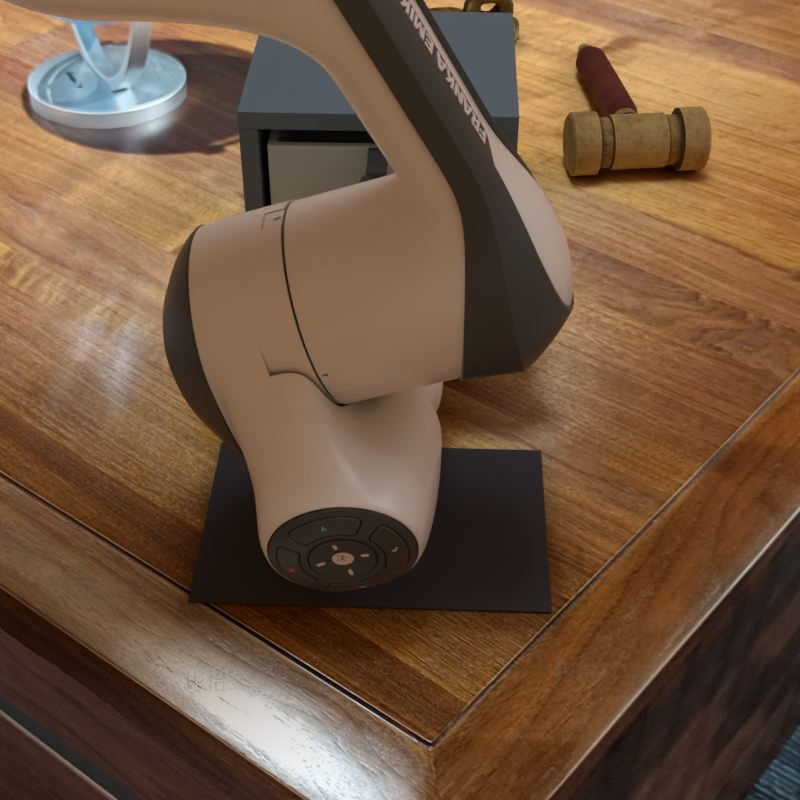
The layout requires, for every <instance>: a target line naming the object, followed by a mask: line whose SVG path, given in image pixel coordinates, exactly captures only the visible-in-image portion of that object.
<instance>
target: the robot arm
mask: <svg viewBox="0 0 800 800" xmlns="http://www.w3.org/2000/svg"><path fill="white" fill-rule="evenodd" d="M2 1H3V2H6V3H9V4H11V5H14V6H17V7H20V8H22V9H24V10H28V11H31V12H35V13H40V14H44V15H48V16H52V17H57V18H62V19H68V20H76V21H87V22H104V23H107V22H109V23H110V22H112V23H113V22H115V23H117V22H119V23H120V22H124V23H125V22H126V23H127V22H132V23H133V22H135V23H137V22H138V23H139V22H140V23H166V24H167V23H168V24H169V23H170V24H182V25H183V24H185V25H195V26H202V27H203V26H204V27H211V28H212V27H213V28H219V29H225V30H231V31H238V32H243V33H248V34H253V35H257V36H258V35H260V36H264V37H268V38H271V39H274V40H277V41H279V42H282V43H285V44H287V45H290V46H292V47H294V48H296V49H297V50H299V51H301V52H303V53H304V54H306V55H307V56H309V57H310V58H312V59H313V60H315V61H316V62H317V63H318V64H319V65H321V66H322V67H323V68H324V69H325V70H326V72H327V73H328V74H329V75H330V76H331V78H332V79H333V80H334V82H335V83H336V85H337V86H338V88H339V89H340V91H341V92H342V94H343V95H344V97H345V98H346V100H347V101H348V103H349V104H350V106H351V107H352V109H353V110H354V112H355V113H356V115H357V116H358V118H359V119H360V121H361V122H362V124H363V125H364V127H365V128H366V130H367V131H368V133H369V135H370V136H371V138H372V139H373V141H374V142H375V144H376V145H377V147H378V148H379V150H380V151H381V153H382V154H383V156H384V157H385V159H386V160H387V162H388V163H389V165H390V166H391V168H392V169H393V171H394V172H395V173H393V174H390V175H387V176H383V177H380V178H376V179H372V180H369V181H365V182H361V183H358V184H354V185H350V186H346V187H343V188H339V189H335V190H332V191H328V192H324V193H320V194H317V195H313V196H309V197H306V198H302V199H298V200H296V199H292V200H289V201H285V202H281V203H277V204H274V205H270V206H266V207H263V208H259V209H255V210H251V211H248V212H245V211H244V212H241V213H237V214H234V215H231V216H227V217H223V218H220V219H217V220H214V221H211V222H209V223H206V224H200V225H198V226H196V227H195V229H194V230H193V231H192V232H191V233H190V234H189V236H188V237H187V239H186V240H185V241H184V243H183V245H182V247H181V248H180V250H179V252H178V253H177V257H176V259H175V261H174V264H173V267H172V269H171V273H170V276H169V280H168V283H167V287H166V291H165V293H164V299H163V300H164V301H163V308H162V336H163V337H162V338H163V347H164V352H165V357H166V361H167V363H168V367H169V369H170V372H171V374H172V376H173V379H174V381H175V383H176V386H177V387H178V390H179V392H180V394H181V396H182V397H183V399H184V401H185V402H186V403H187V405H188V406H189V408H190V409H191V410H192V412H193V413H194V414H195V415H196V417H197V418H198V419H199V420H200V421H201V422H202V423H203V424H204V425H205V426H206V427H207V428H208V429H209V430H210V431H211V432H212V433H213V434H214V435H216V436H217V438H219V440H221V442H224V443H225V444H226V445H227V446H229V447H230V448H231V449H232V450H233V451H235V452H236V453H237V454H239V455H240V456H242V457H243V458H245V460H246V463H247V466H248V470H249V473H250V477H251V480H252V484H253V490H254V495H255V502H256V514H257V526H258V534H259V540H260V544H261V548H262V550H263V553H264V555H265V557H266V559H267V560H268V562H269V564H270V565H271V566H272V567H273V569H274V570H275V571H277V572H278V573H279V574H280V575H282V576H283V577H285V578H286V579H288V580H290V581H292V582H294V583H297V584H299V585H302V586H305V587H308V588H312V589H317V590H325V591H350V590H357V589H363V588H368V587H373V586H377V585H381V584H385V583H388V582H390V581H392V580H395V579H397V578H400V577H401V576H403V575H404V574H406V573H407V572H408V571H409V570H410V569H411V568H412V567H413V566H414V565H415V564H416V563H417V562H418V560H419V559H420V557H421V555H422V554H423V552H424V550H425V547H426V544H427V542H428V539H429V535H430V532H431V528H432V524H433V519H434V515H435V509H436V504H437V497H438V489H439V481H440V469H441V453H442V448H443V436H442V427H441V422H440V419H439V416H438V413H437V412H438V410H439V407H440V405H441V401H442V398H443V397H442V396H443V390H444V389H443V388H444V382H449V381H452V380H457V379H460V381H470V380H471V381H472V380H477V379H485V378H490V377H498V376H505V375H511V374H519V373H520V374H521V373H526V372H527V371H528V370H529V369H530V368H531V367H532V366H533V365H534V364H535V363H536V361H537V360H538V359H539V358H540V357H541V356H542V355H543V354H544V353H545V351H546V350H547V349H548V348H549V346H550V345H551V344H552V343H553V341H554V340H555V338H556V337H557V336H558V334H559V333H560V331H561V330H562V328H563V327H564V325H565V324H566V322H567V320H568V318H569V317H570V315H571V313H572V311H573V310H574V307H575V295H574V267H573V261H572V256H571V249H570V246H569V242H568V239H567V235H566V232H565V229H564V227H563V226H564V225H563V223H562V221H561V218H560V217H559V215H558V213H557V211H556V209H555V206H554V205H553V203H552V201H551V200H550V198H549V197H548V194H546V192H545V190H543V188H542V187H541V186H540V184H539V183H538V181H537V180H536V178H535V176H534V174H533V173H532V171H531V170H530V167H528V165H527V164H526V163H525V161H524V160H523V158H522V157H521V156H520V154H519V153H518V151H517V152H516V150H515V149H514V148H513V146H512V145H511V144H510V142H509V141H508V140H507V139H506V137H505V136H504V134H503V133H502V132H501V130H500V129H499V127H498V126H497V124H496V123H495V121H494V120H493V118H492V116H491V115H490V113H489V112H488V110H487V108H486V106H485V105H484V103H483V101H482V100H481V98H480V96H479V95H478V93H477V91H476V89H475V88H474V86H473V84H472V82H471V81H470V79H469V77H468V76H467V74H466V72H465V70H464V69H463V67H462V65H461V64H460V62H459V60H458V58H457V57H456V55H455V53H454V51H453V50H452V48H451V46H450V45H449V43H448V41H447V39H446V38H445V36H444V34H443V33H442V31H441V29H440V27H439V26H438V24H437V22H436V20H435V19H434V17H433V15H432V14H431V12H430V10H429V7H428V5H427V3H426V1H425V0H2Z"/></svg>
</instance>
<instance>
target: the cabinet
mask: <svg viewBox="0 0 800 800" xmlns="http://www.w3.org/2000/svg"><path fill="white" fill-rule="evenodd" d="M430 12H431V14H432V15H433V17H434V19H435V20H436V22H437V24H438V26H439V27H440V29H441V31H442V33H443V34H444V36H445V38H446V39H447V41H448V43H449V45H450V46H451V48H452V50H453V51H454V53H455V55H456V57H457V58H458V60H459V62H460V64H461V65H462V67H463V69H464V70H465V72H466V74H467V76H468V77H469V79H470V81H471V82H472V84H473V86H474V88H475V89H476V91H477V93H478V95H479V96H480V98H481V100H482V101H483V103H484V105H485V106H486V108H487V110H488V112H489V113H490V115H491V116H492V118H493V120H494V121H495V123H496V124H497V126H498V127H499V129H500V130H501V132H502V133H503V134H504V136H505V137H506V139H507V140H508V141H509V142H510V144H511V145H512V146H513V148H514V149H515V150H516V152H517V153H518V143H519V128H520V108H519V92H518V76H517V74H518V73H517V59H516V44H515V43H516V42H515V41H514V27H513V17H514V12H513V13H491V12H432V11H430ZM251 56H252V57H251V60H250V64H249V67H248V71H247V73H246V74H247V75H246V78H245V82H244V85H243V88H242V93H241V96H240V100H239V103H238V107H237V111H236V116H237V117H236V118H237V128H238V139H239V151H240V152H239V153H240V162H241V163H240V165H241V175H242V186H243V187H242V188H243V201H244V212H248V211H251V210H255V209H259V208H263V207H266V206H270V205H271V192H270V178H269V163H268V149H267V144H268V140H269V136H270V132H271V129H280V130H331V131H367V130H366V128H365V127H364V125H363V124H362V122H361V121H360V119H359V118H358V116H357V115H356V113H355V112H354V110H353V109H352V107H351V106H350V104H349V103H348V101H347V100H346V98H345V97H344V95H343V94H342V92H341V91H340V89H339V88H338V86H337V85H336V83H335V82H334V80H333V79H332V78H331V76H330V75H329V74H328V73H327V72H326V70H325V69H324V68H323V67H322V66H321V65H319V64H318V63H317V62H316V61H315V60H313V59H312V58H310V57H309V56H307V55H306V54H304V53H303V52H301V51H299V50H297V49H296V48H294V47H292V46H290V45H287V44H285V43H282V42H279V41H277V40H274V39H271V38H268V37H264V36H260V35H257V39H256V43H255V46H254V50H253V53H252V55H251Z"/></svg>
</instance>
